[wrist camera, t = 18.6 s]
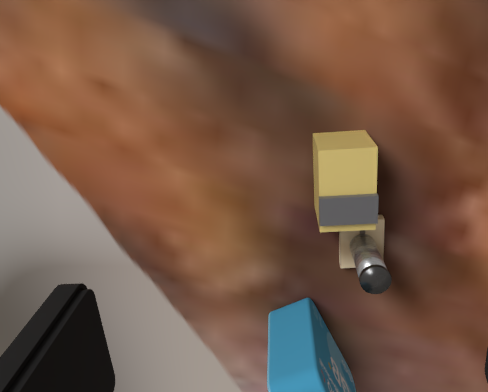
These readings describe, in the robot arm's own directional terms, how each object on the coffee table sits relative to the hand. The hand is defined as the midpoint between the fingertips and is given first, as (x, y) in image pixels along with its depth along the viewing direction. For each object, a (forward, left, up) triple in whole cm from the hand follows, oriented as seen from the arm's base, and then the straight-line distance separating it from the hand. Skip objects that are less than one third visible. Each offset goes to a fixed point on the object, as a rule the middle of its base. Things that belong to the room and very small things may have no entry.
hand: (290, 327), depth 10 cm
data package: (+26, +2, -31) cm, 40 cm away
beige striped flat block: (+14, +7, -30) cm, 34 cm away
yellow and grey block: (+7, +5, -30) cm, 32 cm away
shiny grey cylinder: (+14, +7, -29) cm, 33 cm away
